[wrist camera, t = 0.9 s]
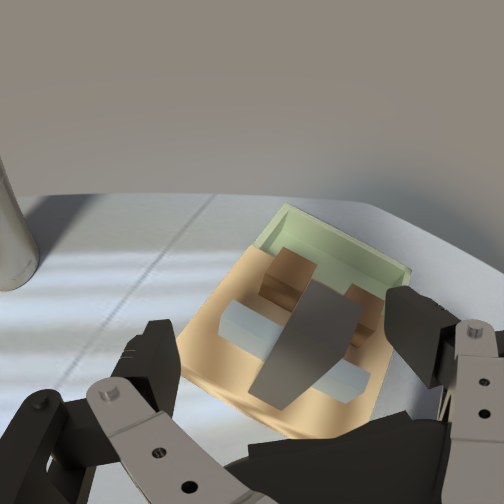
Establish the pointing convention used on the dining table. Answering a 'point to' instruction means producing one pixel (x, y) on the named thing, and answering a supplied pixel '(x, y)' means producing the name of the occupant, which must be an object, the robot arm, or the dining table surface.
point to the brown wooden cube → (365, 313)
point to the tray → (332, 253)
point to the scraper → (300, 347)
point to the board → (248, 366)
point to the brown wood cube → (286, 279)
